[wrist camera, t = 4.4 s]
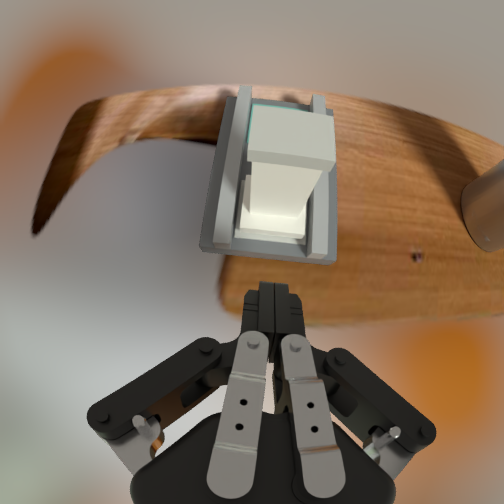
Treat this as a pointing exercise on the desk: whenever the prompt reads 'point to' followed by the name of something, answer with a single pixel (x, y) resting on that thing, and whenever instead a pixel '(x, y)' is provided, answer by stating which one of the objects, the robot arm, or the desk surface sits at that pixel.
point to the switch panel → (232, 191)
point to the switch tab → (284, 168)
